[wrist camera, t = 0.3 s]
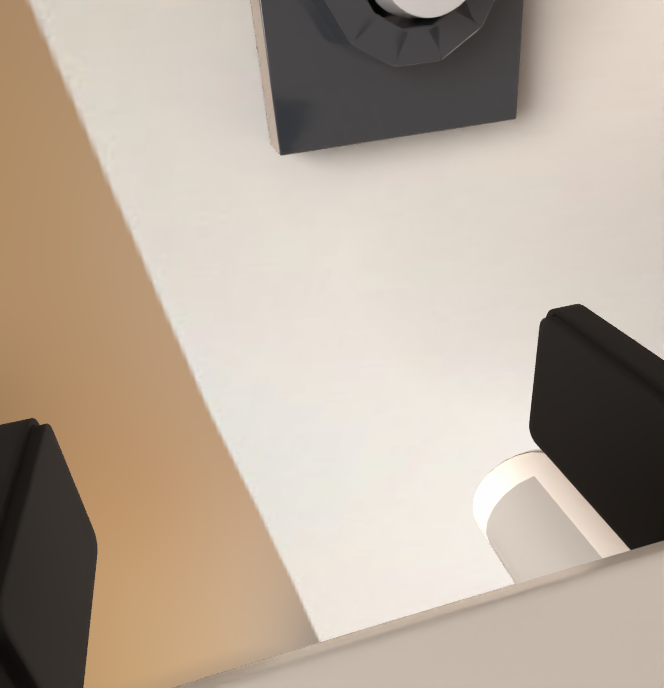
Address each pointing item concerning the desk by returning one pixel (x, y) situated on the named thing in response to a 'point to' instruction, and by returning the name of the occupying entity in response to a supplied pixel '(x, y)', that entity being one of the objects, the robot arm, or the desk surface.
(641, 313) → the desk surface
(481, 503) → the spray bottle
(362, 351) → the desk surface
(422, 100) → the grey button base
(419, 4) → the white push button
